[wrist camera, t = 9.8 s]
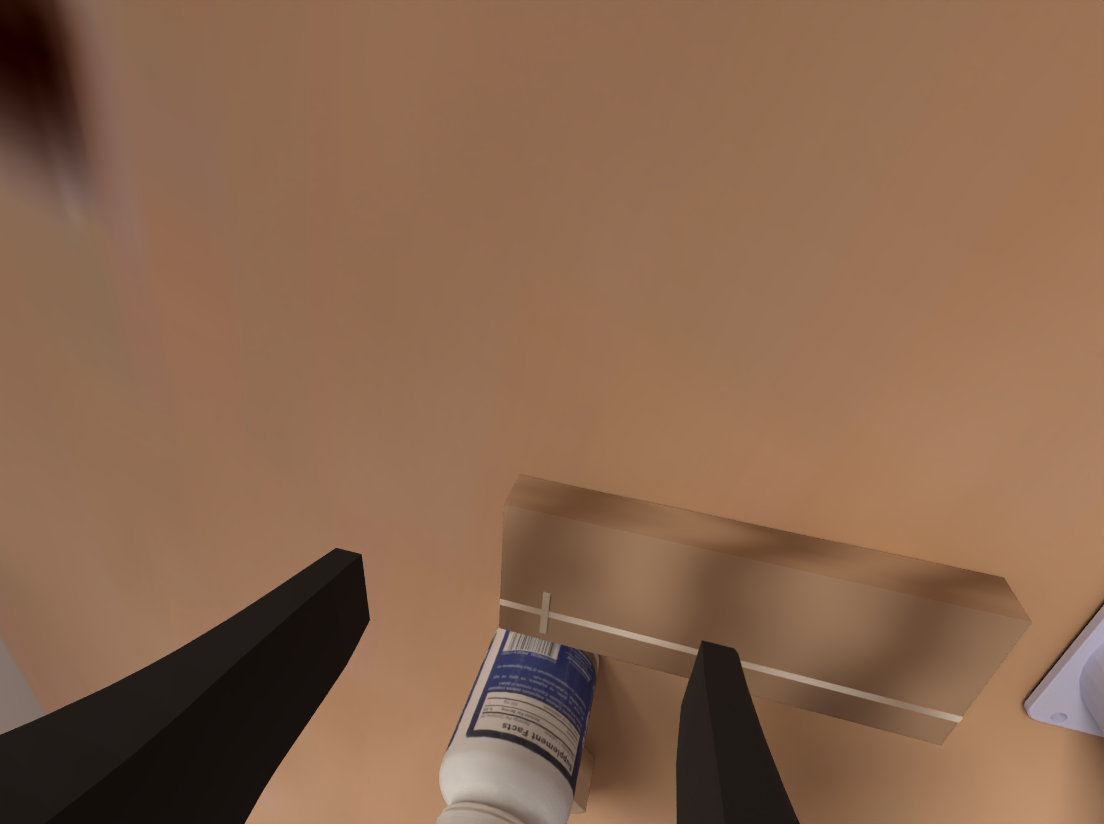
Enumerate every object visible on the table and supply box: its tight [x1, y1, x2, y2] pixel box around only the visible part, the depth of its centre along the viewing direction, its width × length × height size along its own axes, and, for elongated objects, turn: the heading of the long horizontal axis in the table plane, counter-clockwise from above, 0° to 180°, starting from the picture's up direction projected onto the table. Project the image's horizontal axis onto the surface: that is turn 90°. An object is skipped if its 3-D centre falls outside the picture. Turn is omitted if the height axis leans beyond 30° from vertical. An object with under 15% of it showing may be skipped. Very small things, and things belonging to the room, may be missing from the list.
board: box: [499, 475, 1032, 745], centre depth 22 cm, size 18×7×2 cm, turn 85°
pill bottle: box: [436, 627, 599, 824], centre depth 23 cm, size 5×5×10 cm
